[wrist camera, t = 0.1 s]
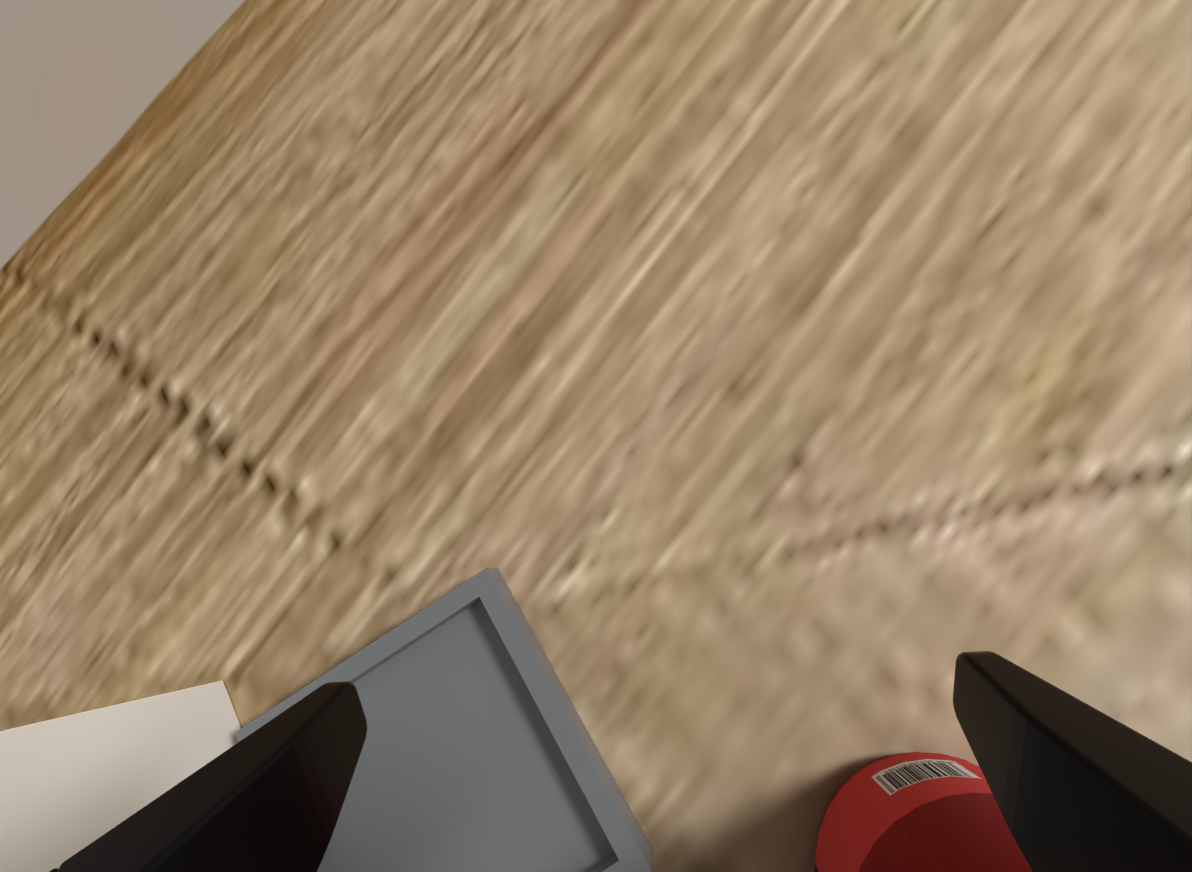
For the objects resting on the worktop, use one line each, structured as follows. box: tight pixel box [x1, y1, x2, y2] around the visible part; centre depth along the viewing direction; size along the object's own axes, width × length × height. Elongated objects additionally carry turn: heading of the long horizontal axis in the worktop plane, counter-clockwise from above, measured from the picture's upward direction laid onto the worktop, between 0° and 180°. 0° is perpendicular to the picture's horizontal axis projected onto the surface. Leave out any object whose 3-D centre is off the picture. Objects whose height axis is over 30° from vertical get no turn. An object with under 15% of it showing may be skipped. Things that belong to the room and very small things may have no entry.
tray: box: [235, 568, 653, 872], centre depth 22 cm, size 12×12×2 cm
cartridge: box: [0, 680, 241, 872], centre depth 18 cm, size 5×5×12 cm
